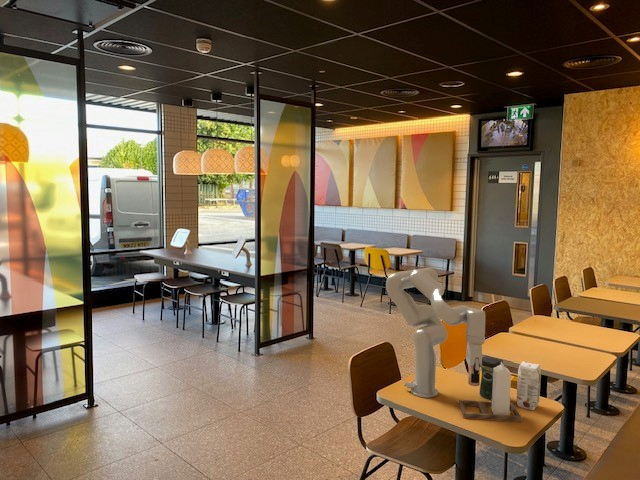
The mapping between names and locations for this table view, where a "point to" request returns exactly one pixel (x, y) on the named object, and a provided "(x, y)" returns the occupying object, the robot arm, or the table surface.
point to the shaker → (470, 377)
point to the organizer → (485, 413)
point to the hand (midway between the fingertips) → (473, 379)
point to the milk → (501, 390)
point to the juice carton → (528, 385)
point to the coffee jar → (488, 375)
